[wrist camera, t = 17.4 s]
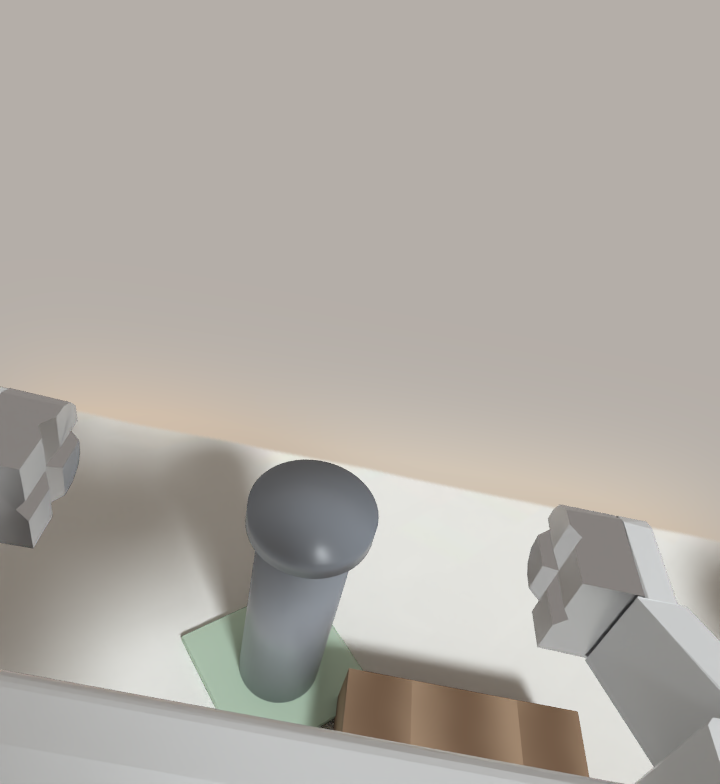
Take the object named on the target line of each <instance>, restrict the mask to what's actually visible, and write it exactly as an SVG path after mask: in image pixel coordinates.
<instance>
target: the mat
mask: <svg viewBox="0 0 720 784" xmlns="http://www.w3.org/2000/svg"><path fill="white" fill-rule="evenodd" d="M246 611H247V606H246V607H244V608H242V609H240V610H238V611H235V612H233V613H231V614H229V615H227V616H225V617H223V618H220V619H218V620H216V621H214V622H212V623H210V624H207V625H205V626H203V627H201V628H199V629H197V630H194V631H192V632H190V633H188V634H186V635H184V636H182V642H183V644H184V646H185V648H186V650H187V652H188V654H189V656H190V658H191V660H192V662H193V664H194V666H195V668H196V670H197V672H198V674H199V676H200V678H201V680H202V682H203V684H204V686H205V688H206V690H207V692H208V694H209V696H210V698H211V700H212V702H213V704H214V706H215V708H216V709H219V710H225V711H230V712H236V713H241V714H247V715H252V716H258V717H263V718H269V719H274V720H279V721H285V722H290V723H296V724H301V725H307V726H312V727H318V728H319V727H321V726H322V725H324V724H326V723H327V722H329V721H331V720H332V719H334V718H335V716H336V708H337V699H338V695H339V692H340V690H341V687H342V685H343V682H344V680H345V677H346V675H347V672H348V669H349V668H351V669H356V670H362V669H361V667H360V666H359V664H358V663H357V661H356V660H355V658H354V657H353V655H352V654H351V652H350V651H349V649H348V648H347V646H346V645H345V643H344V642H343V640H342V639H341V637H340V636H339V634H338V633H337V631H336V630H335V628H334V627H333V625H332V627H331V630H330V634H329V637H328V640H327V644H326V647H325V650H324V653H323V657H322V660H321V663H320V667H319V670H318V673H317V676H316V679H315V681H314V683H313V685H312V686H311V688H310V689H309V690H308V691H307V692H306V693H305V694H304V695H302V696H301V697H299V698H297V699H295V700H293V701H290V702H285V703H273V702H268V701H265V700H263V699H261V698H259V697H257V696H255V695H254V694H253V693H252V692H251V691H250V690H249V689H248V688H247V687H246V685H245V684H244V682H243V680H242V678H241V675H240V670H239V659H240V652H241V645H242V639H243V632H244V625H245V618H246ZM362 671H363V670H362Z"/></svg>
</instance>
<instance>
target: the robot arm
mask: <svg viewBox="0 0 720 784" xmlns="http://www.w3.org/2000/svg"><path fill="white" fill-rule="evenodd" d="M76 422H77V414H76V407H75V405H74V404H72V403H70V402H67V401H62V400H58V399H54V398H50V397H45V396H41V395H36V394H33V393H28V392H24V391H20V390H15V389H11V388H9V389H8V388H4V387H0V543H4V544H10V545H16V546H22V547H28V548H34V546H35V545H36V543H37V541H38V540H39V538H40V536H41V535H42V533H43V531H44V530H45V528H46V526H47V525H48V523H49V521H50V520H51V518H52V516H53V514H52V506H51V502H53V501H55V500H57V499H58V498H60V497H62V496H64V495H65V494H66V492H67V491H68V489H69V487H70V485H71V484H72V482H73V479H74V476H75V473H76V470H77V467H78V464H79V455H80V445H79V440H78V439H77V437H76V436H75V435H74V434H73V433H72V432H71V430H72V428H73V427H74V425H75V424H76ZM548 522H549V528H550V530H548V531H546V532H544V533H542V534H540V535H538V536H537V538H536V540H535V542H534V544H533V546H532V547H531V551H530V555H529V559H528V570H527V576H528V585H529V589H530V590H531V591H532V593H533V594H534V595H535V597H536V598H537V599H538V600H539V601H538V603H537V604H536V606H535V608H534V609H533V611H532V614H533V621H534V628H535V635H536V642H537V647H540V648H544V649H549V650H553V651H558V652H562V653H567V654H571V655H576V656H580V657H584V658H586V660H585V661H586V662H587V664H588V665H589V667H590V668H591V670H592V672H593V673H594V675H595V676H596V678H597V679H598V681H599V682H600V684H601V686H602V687H603V689H604V690H605V692H606V693H607V695H608V696H609V698H610V699H611V701H612V703H613V704H614V706H615V707H616V709H617V710H618V712H619V713H620V715H621V717H622V718H623V720H624V721H625V723H626V724H627V726H628V727H629V729H630V731H631V732H632V734H633V735H634V737H635V738H636V740H637V741H638V743H639V744H640V746H641V748H642V749H643V751H644V752H645V754H646V755H647V757H648V758H649V760H650V762H651V763H652V765H653V766H654V767H653V768H652V769H651V770H650V771H649V772H648V773H646V774H645V775H644V776H643V777H642V778H640V779H639V780H638V781H637V782H636V783H635V784H720V641H719V640H718V639H717V638H716V637H715V635H714V634H713V633H712V632H711V631H710V630H709V629H708V628H707V627H706V626H705V625H704V624H703V623H702V622H701V621H700V620H699V619H698V618H697V617H696V616H695V615H694V614H693V613H692V611H691V610H690V609H689V608H688V607H686V606H682V605H678V602H677V600H676V597H675V594H674V591H673V588H672V585H671V582H670V579H669V577H668V574H667V571H666V568H665V565H664V562H663V559H662V556H661V554H660V551H659V548H658V545H657V542H656V539H655V536H654V533H653V531H652V528H651V526H650V525H649V524H648V523H647V522H645V521H640V520H635V519H630V518H625V517H619V516H613V515H609V514H604V513H599V512H594V511H589V510H584V509H579V508H574V507H569V506H564V505H559V506H557V507H556V508H555V509H554V510H553V511H552V513H551V515H550V516H549V518H548ZM0 784H623V783H617V782H612V781H606V780H601V779H595V778H590V777H584V776H579V775H573V774H568V773H563V772H557V771H552V770H546V769H541V768H535V767H530V766H524V765H519V764H513V763H508V762H503V761H497V760H492V759H486V758H481V757H475V756H470V755H465V754H459V753H454V752H448V751H443V750H437V749H432V748H427V747H421V746H416V745H410V744H405V743H399V742H394V741H388V740H383V739H378V738H372V737H367V736H361V735H356V734H350V733H345V732H340V731H334V730H329V729H323V728H318V727H312V726H307V725H301V724H296V723H290V722H285V721H279V720H274V719H269V718H263V717H258V716H252V715H247V714H241V713H236V712H230V711H225V710H219V709H214V708H208V707H203V706H197V705H192V704H186V703H181V702H175V701H170V700H164V699H159V698H154V697H148V696H143V695H137V694H132V693H126V692H121V691H115V690H110V689H105V688H99V687H94V686H88V685H83V684H77V683H72V682H66V681H61V680H55V679H50V678H45V677H39V676H34V675H28V674H23V673H17V672H12V671H6V670H1V669H0Z"/></svg>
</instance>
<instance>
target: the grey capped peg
mask: <svg viewBox="0 0 720 784" xmlns="http://www.w3.org/2000/svg"><path fill="white" fill-rule="evenodd" d="M245 522H246V531H247V535H248V538H249V541H250V543H251V545H252V546H253V548H254V549H255V557H254V563H253V570H252V577H251V584H250V591H249V598H248V604H247V611H246V618H245V625H244V632H243V639H242V645H241V652H240V659H239V670H240V675H241V678H242V680H243V682H244V684H245V685H246V687H247V688H248V689H249V690H250V691H251V692H252V693H253V694H254V695H255V696H257V697H259V698H261V699H263V700H265V701H268V702H273V703H285V702H290V701H293V700H295V699H297V698H299V697H301V696H302V695H304V694H305V693H306V692H307V691H308V690H309V689H310V688H311V686H312V685H313V683H314V681H315V679H316V676H317V673H318V670H319V667H320V663H321V660H322V657H323V653H324V650H325V647H326V644H327V640H328V637H329V634H330V630H331V627H332V624H333V621H334V617H335V614H336V611H337V607H338V604H339V601H340V598H341V594H342V591H343V588H344V584H345V581H346V578H347V575H348V571H349V570H351V569H353V568H354V567H355V566H357V565H358V564H359V563H360V562H361V561H362V560H363V559H364V558H365V556H366V555H367V553H368V551H369V549H370V547H371V545H372V542H373V539H374V535H375V532H376V529H377V526H378V508H377V504H376V502H375V499H374V497H373V495H372V493H371V492H370V490H369V489H368V488H367V486H366V485H365V484H364V483H363V482H362V481H361V480H360V479H359V478H358V477H356V476H355V475H354V474H352V473H351V472H349V471H347V470H346V469H344V468H342V467H339V466H337V465H334V464H331V463H328V462H323V461H318V460H295V461H289V462H286V463H282V464H280V465H277V466H275V467H273V468H271V469H269V470H268V471H266V472H265V473H264V474H263V475H262V476H261V477H260V478H259V479H258V480H257V481H256V482H255V484H254V485H253V487H252V489H251V491H250V494H249V497H248V504H247V512H246V520H245Z"/></svg>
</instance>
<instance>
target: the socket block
mask: <svg viewBox="0 0 720 784" xmlns="http://www.w3.org/2000/svg"><path fill="white" fill-rule="evenodd" d="M333 730H334V731H340V732H345V733H350V734H356V735H361V736H367V737H372V738H378V739H383V740H388V741H394V742H399V743H405V744H410V745H416V746H421V747H427V748H432V749H437V750H443V751H448V752H454V753H459V754H465V755H470V756H475V757H481V758H486V759H492V760H497V761H503V762H508V763H513V764H519V765H524V766H530V767H535V768H541V769H546V770H552V771H557V772H563V773H568V774H573V775H579V776H584V777H589V773H588V767H587V762H586V756H585V750H584V744H583V739H582V733H581V727H580V722H579V716H578V712H577V711H572V710H566V709H561V708H556V707H551V706H545V705H540V704H535V703H530V702H524V701H519V700H514V699H509V698H503V697H498V696H493V695H488V694H482V693H477V692H472V691H467V690H461V689H456V688H451V687H446V686H440V685H435V684H430V683H425V682H419V681H414V680H409V679H404V678H398V677H393V676H388V675H383V674H377V673H372V672H367V671H362V670H356V669H351V668H349V669H348V672H347V675H346V677H345V680H344V682H343V685H342V687H341V690H340V692H339V695H338V699H337V708H336V716H335V718H334V727H333Z"/></svg>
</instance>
